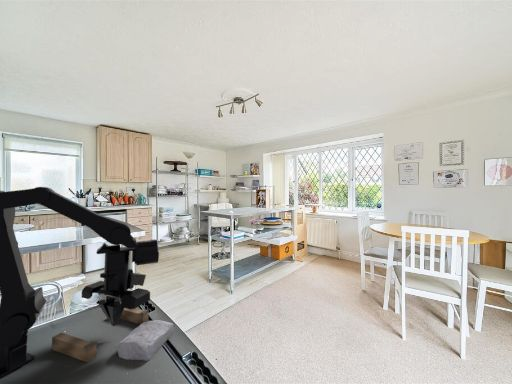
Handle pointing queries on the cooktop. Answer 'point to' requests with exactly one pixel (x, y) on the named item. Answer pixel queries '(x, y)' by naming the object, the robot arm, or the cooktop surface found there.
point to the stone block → (145, 340)
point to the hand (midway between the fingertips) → (114, 325)
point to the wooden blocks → (88, 349)
